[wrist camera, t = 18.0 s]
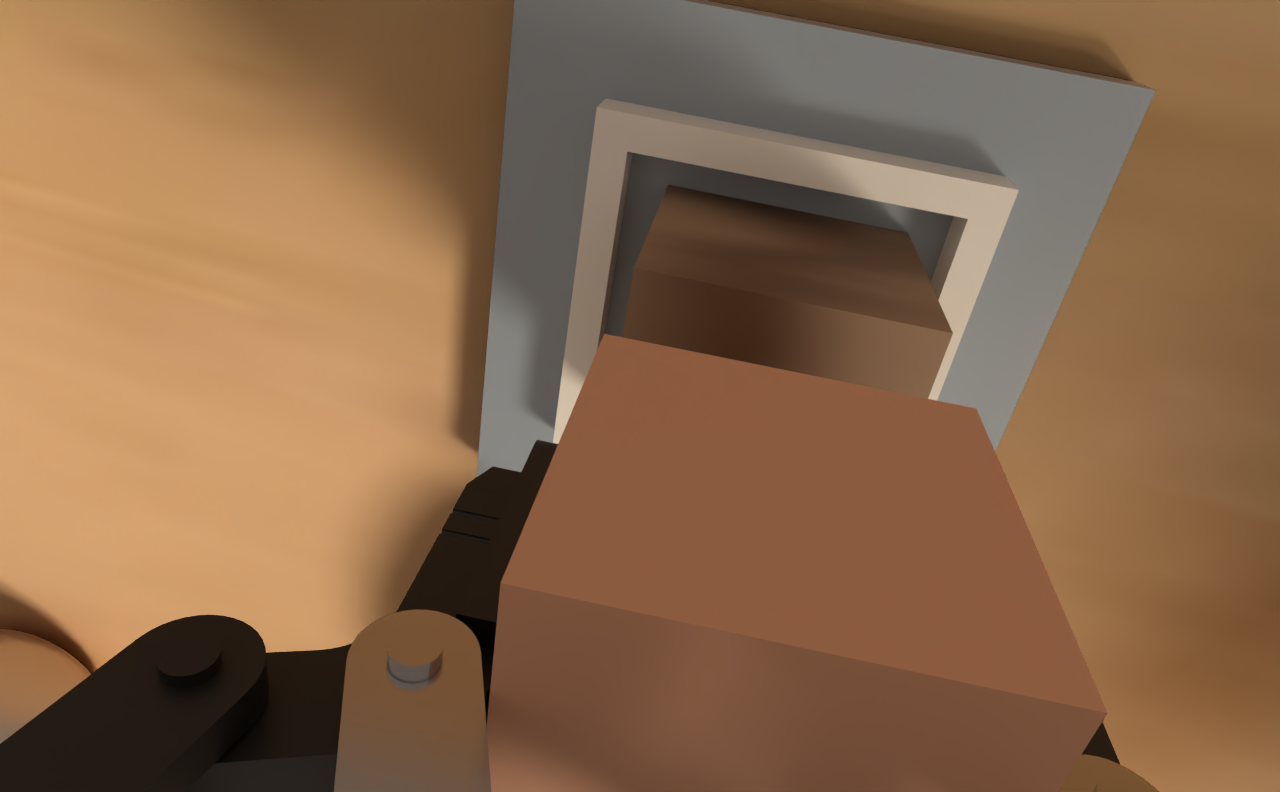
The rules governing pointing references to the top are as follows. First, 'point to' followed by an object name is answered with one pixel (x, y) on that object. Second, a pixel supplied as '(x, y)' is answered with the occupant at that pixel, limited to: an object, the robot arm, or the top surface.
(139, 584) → the top surface
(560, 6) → the baseplate
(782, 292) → the walnut cube
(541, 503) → the terracotta cube
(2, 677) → the plastic bottle
